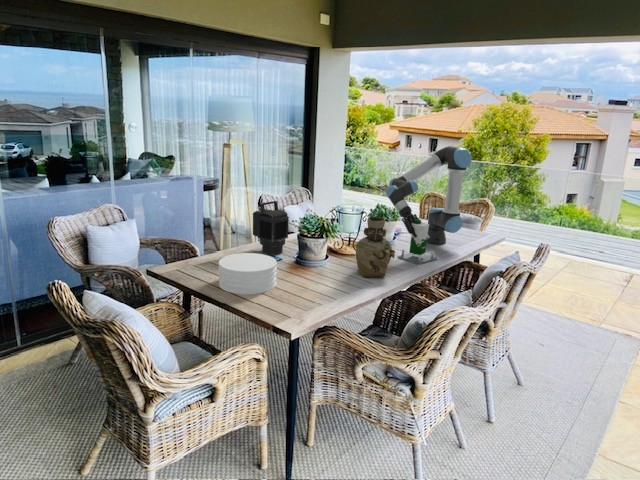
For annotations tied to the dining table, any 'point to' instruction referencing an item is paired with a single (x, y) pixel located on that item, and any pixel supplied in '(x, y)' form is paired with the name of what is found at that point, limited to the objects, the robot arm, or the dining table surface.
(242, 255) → the plate stack
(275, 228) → the lantern
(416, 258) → the peg dock
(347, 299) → the dining table surface
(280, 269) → the dining table surface
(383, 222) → the ceramic vessel
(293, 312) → the dining table surface
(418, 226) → the soya milk
